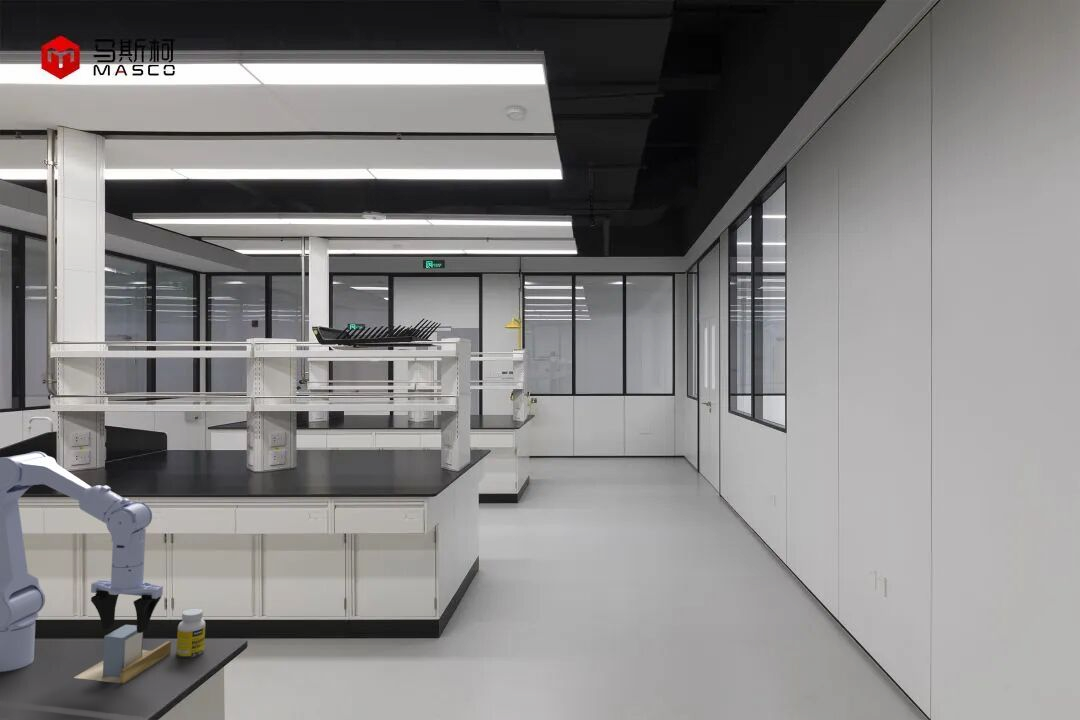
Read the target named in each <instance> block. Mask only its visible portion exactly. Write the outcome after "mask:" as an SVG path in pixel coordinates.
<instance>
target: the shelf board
mask: <svg viewBox="0 0 1080 720" xmlns="http://www.w3.org/2000/svg"><path fill="white" fill-rule="evenodd" d="M171 648H172V641H170V640H167V641H165V642H164V643H162V644H161V645H159V646H157V647H156V648H154V649H152V650H146V649H142V657H141V658H140V659H138V660H136V661H135V662H133V663H132V664H130V665H128V666H127V667H125V668H124V669H122V670H121V675H120V677H111V676H103V660H101V661H99V662H98V663H96V664H94V665H93V666H91V667H89V668H87V669H85V670H84V671H82V672H81V673H79V674H77V675H75V676H74V677H73V679H80V680H88V681H98V682H106V683H107V682H108V683H116V684H125V683H127V682H129V681H131V679H133V678H134V677H137V675H139V674H140V673H143V671H145V670H146V669H148V668H150V667H152V666H153V665H154V664H156V663H157V662H159V661H160V660H162V659H164V658H165V657H166V656H168V655H170V654H171V651H172V649H171Z"/></svg>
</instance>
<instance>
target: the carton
mask: <svg viewBox="0 0 1080 720" xmlns="http://www.w3.org/2000/svg"><path fill="white" fill-rule="evenodd" d="M103 638H104V639H103V659H102V661H103V676H111V677H120V675H121V670H122V669H124V668H125V667H127V666H128V665H130V664H132V663H133V662H135V661H136V660H138V659H140V658H141V657H142V650H143V643H144V631H143V632H142V633H137V624H136V625H135V624H124V625H122V626H120V627H118V628H117V629H115V630H113V631H112V632H109V633H108V634H106V635H104V637H103Z"/></svg>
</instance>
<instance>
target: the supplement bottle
mask: <svg viewBox="0 0 1080 720" xmlns="http://www.w3.org/2000/svg"><path fill="white" fill-rule="evenodd" d="M203 615H204V613H203V609H201V608H190V609H186V610H183V612H182V616H181V620H182V621H180V622H179V624H178V626H177V635H176V637H177V638H176V654H175V655H176V657H177V658H179V659H191V658H195V657H199V656H201V655H202V654H203V653H205V652H204V651H205V641H206V639H205V638H206V637H205V636H206V621H205V620H204V619H203Z"/></svg>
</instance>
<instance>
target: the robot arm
mask: <svg viewBox="0 0 1080 720" xmlns="http://www.w3.org/2000/svg"><path fill="white" fill-rule="evenodd" d="M34 485H35V486H36V485H37V486H38V485H44V486H47V487H49V488H51V489H53V490H55V491H57V492H59V493H61V494H63V495H65V496H68V497H70V498H72V499H74V500H76V501H77V502H78V505H79V509H80V510H81V511H83V512H84V513H86V514H88V515H89V516H92V517H94V518H96V519H97V520H99V521H101V522H102V523H104V524H105V525H106V528H107V531H108V533H110V535H111V542H112V553H111V571H110V572H111V573H110V574H111V576H110V580H100V579H99V580H96V581H94V582H91V585H90V592H91V593H92V594H95V595H94V596H91V598H90V601H91V603H92V604H93V606H94V607H95V609H96V611H97V613H98V615H99V618H100V622H101V626H102V630H108V629H110V628H112V627H114V624H115V618H116V616H115V615H116V606H117V602H118V598H119V595H128V596H139V598H138V599H136V600H133V605H134V608H135V612H136V626H137V633H142V632H143V633H144V632H145V631H147V630H148V627H149V624H150V621H151V618H152V615H153V613H154V611H155V608H156V607H157V605H158V603H159V601H160V600H161V598H162V596H164V595H163V592H164V591H163V590H164V588H163V585H156V584H153V583H150V582H146V581H144V572H145V553H146V550H145V548H146V528H148V527H149V525H150V524H151V522H152V521H153V514H152V510H151V508H150V507H149V506H148V505H147V504H146V503H144V501H134V502H133V501H131V500H130V499H129V498H128V497H125V498H124V497H123V496H121V495H119V494H117V493H116V492H115V491H114V492H113V491H112V488H111V487H110V486H109V485H100V484H99V485H94V486H91V485H89V484H88V483H86V482H85V481H83V480H82V479H81V478H79V477H77V476H76V475H74V474H73V473H72V472H69V470H66V469H65V468H64V467H62V466H61V465H59V464H58V463H57V461H56V459H55V458H54V457H52V456H49V455H47V454H46V453H45V452H42V451H37V450H36V451H31V452H28V453H25V454H24V453H23V454H19V455H18V454H17V455H12V456H4V457H3V456H2V457H0V673H1V672H10V671H14V670H18V669H22V668H25V667H27V666H29V665H30V664H32V663H33V662H34V660H35V643H36V642H35V639H36V637H35V636H36V619H37V618H38V615H39V612H41V611H42V610H43V608H44V607H45V604H46V595H45V593H44V591H43V590H42V588H41V586H40V583H39V578H38V577H36V576H34V575H32V574H30V573H29V571H28V570H29V569H28V564H27V557H26V550H25V543H24V541H25V540H24V535H23V527H22V521H21V515H20V514H21V513H20V507H19V499H20V498H21V497H22V496H23V495H24V494H25V493H26V491H28V490H29V489H30V488H31V487H33V486H34Z"/></svg>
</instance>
